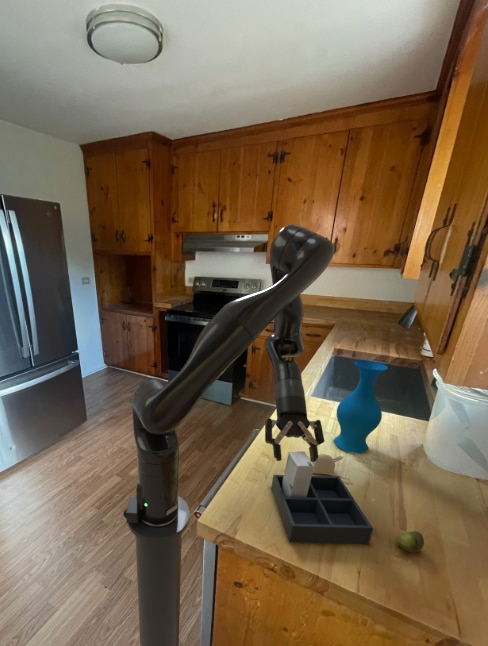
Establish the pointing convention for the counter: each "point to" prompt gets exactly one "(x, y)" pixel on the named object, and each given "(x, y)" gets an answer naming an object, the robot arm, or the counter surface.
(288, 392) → the robot arm
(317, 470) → the decorative ornament
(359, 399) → the vase
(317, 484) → the grid
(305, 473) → the cosmetic box
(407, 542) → the lime
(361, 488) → the counter surface
